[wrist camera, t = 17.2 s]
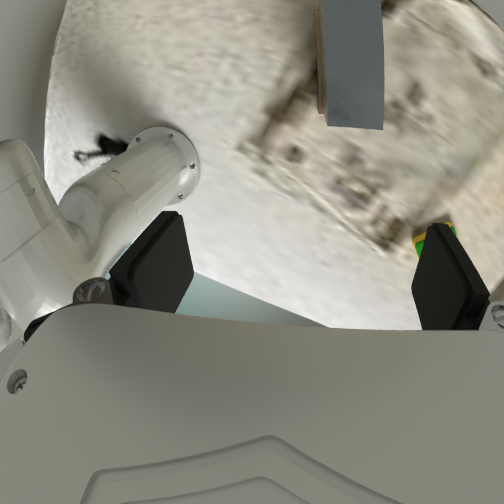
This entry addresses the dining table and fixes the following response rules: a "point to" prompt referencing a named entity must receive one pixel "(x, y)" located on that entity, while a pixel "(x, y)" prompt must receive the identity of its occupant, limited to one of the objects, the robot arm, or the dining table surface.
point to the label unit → (350, 63)
